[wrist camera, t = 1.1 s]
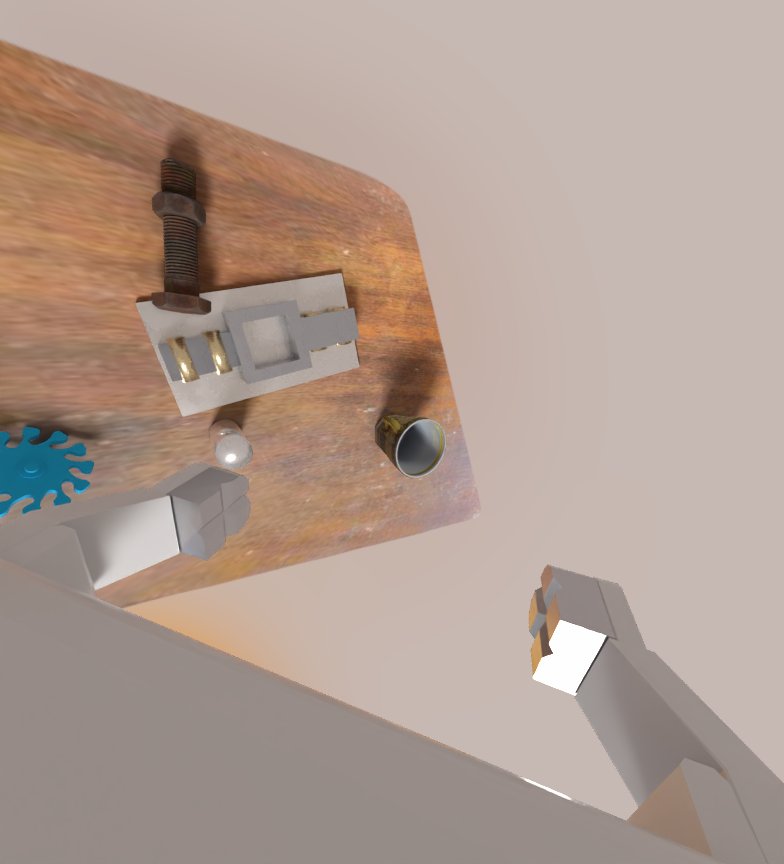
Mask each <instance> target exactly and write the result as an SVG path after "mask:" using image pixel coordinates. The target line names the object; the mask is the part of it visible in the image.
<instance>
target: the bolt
mask: <svg viewBox="0 0 784 864" xmlns="http://www.w3.org/2000/svg"><path fill="white" fill-rule="evenodd" d="M161 175H162V176H161V178H162V179H161V181H162V192H159V193H157V194H155V195H154V196H153V198H152V210H153V211H154V212H155V213H156V215H157V216H158V217H159V218H161V219H162V220H164V221H163V223H164V224H163V227H164V228H163V230H164V231H163V233H164V235H163V236H164V237H165V238H164V247H165V248H164V250H165V252H164V253H165V255H164V256H165V257H166V258H165V270H166V271H165V273H166V274H165V279H164V286H165V292H158V293H152V304H153V305H154V306H156V307H157V308H158V309H161V310H166V311H172V312H178V313H186V314H198V315H206V314H208V313H210V312H211V301H209V300H206V299H203V298H200V295H199V284H198V278H197V277H198V275H197V274H198V272H197V271H198V269H197V267H198V266H197V264H198V262H196V261H198V259H197V258H198V256H197V251H198V250H197V246H196V245H197V243H196V242H197V240H196V239H197V237H196V236H197V234H196V232H197V231H196V229H197V228H199V227H201V226H203V225H204V224H205V223H206V212H205V210H204V209H203V207H202V206H201V205H200V204H199V203H198V202H197V201H196V194H195V193H196V187H195V186H196V184H195V182H196V181H195V180H196V177H195V176H196V174H195V173H194V170H193V168H192V167H191V166H189V165H187V164H185V163H183V162H181V161H179V160H177V159H174V158H167V159H164V160H162V161H161Z"/></svg>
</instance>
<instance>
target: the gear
mask: <svg viewBox="0 0 784 864" xmlns="http://www.w3.org/2000/svg"><path fill="white" fill-rule="evenodd" d="M39 435H40V429H37V428H33V427H24V428H23V440H22V442H21V443H20V444H19V445H18V446H17V447H15V448H8V447H6V446H5V445H6V444H7V443H8V442H9V440H10V439H9V434H8V433H7V432H0V495H2V494H8V495H10V496H11V499H9V500H7V501H2V502H0V517H3V516H5V515H6V514H7V513H8V511H9V509H10V508H11V507H12V506H13V505H14V504H15V503H16V502H18V501H20V500H22V499H24V498H33V499H34V500H35V501H34V502H33V503H32V504H29V505H27V506H26V507H24V509H23V511H22V515H23V514H25V513H27V512H29V511H33V510H38V509H41V507H40V502H41V500H42V499H43V497H44V496H45V495H46V494H48V493H55V494H57V497H56V499H55V500H54V504H53V506H57V505H62V504H67V503H71V499H70V498H69V497H68V496H66V495H65V494H64V493H63V491H62V487H61V484H62V483H64V482H71V483H73V485H74V491H75V492H77V493H82V492H84V491H85V490H86V489H87V488H88V487H89V486H90V483H89V482H88V481H87V480H82V479H78V478H76V477H74V476H73V475H72V474H71V473H70V472H69V471H68V470H69V469H71V468H77V469H79V470H80V471H81V472H82V473H83V474H90V473H91V472H92V470H93V466H94V462H92V461H85V462H75V461H71V460H68V459H66V458H64V456H65V455H68V454H71V455H74V456H78V457H81V456H84V455H85V454H86V448H85V446H84V445H83V444H82V443H78V444H75V445H74V446H72V447H70V448H66V449H52V448H50V446H51V445H53V444H63V443H65V442H66V441H67V439H68V437H67V435H65V434H64V433H62V432H60V431H55V432H54V433H53V434H52V436H51V437H50V438H49V439H48V440H47V441H45V442H43V443H41V444H38V445H32V444H30V443H29V441H31V440H34V439H36V438H38V437H39Z"/></svg>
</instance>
